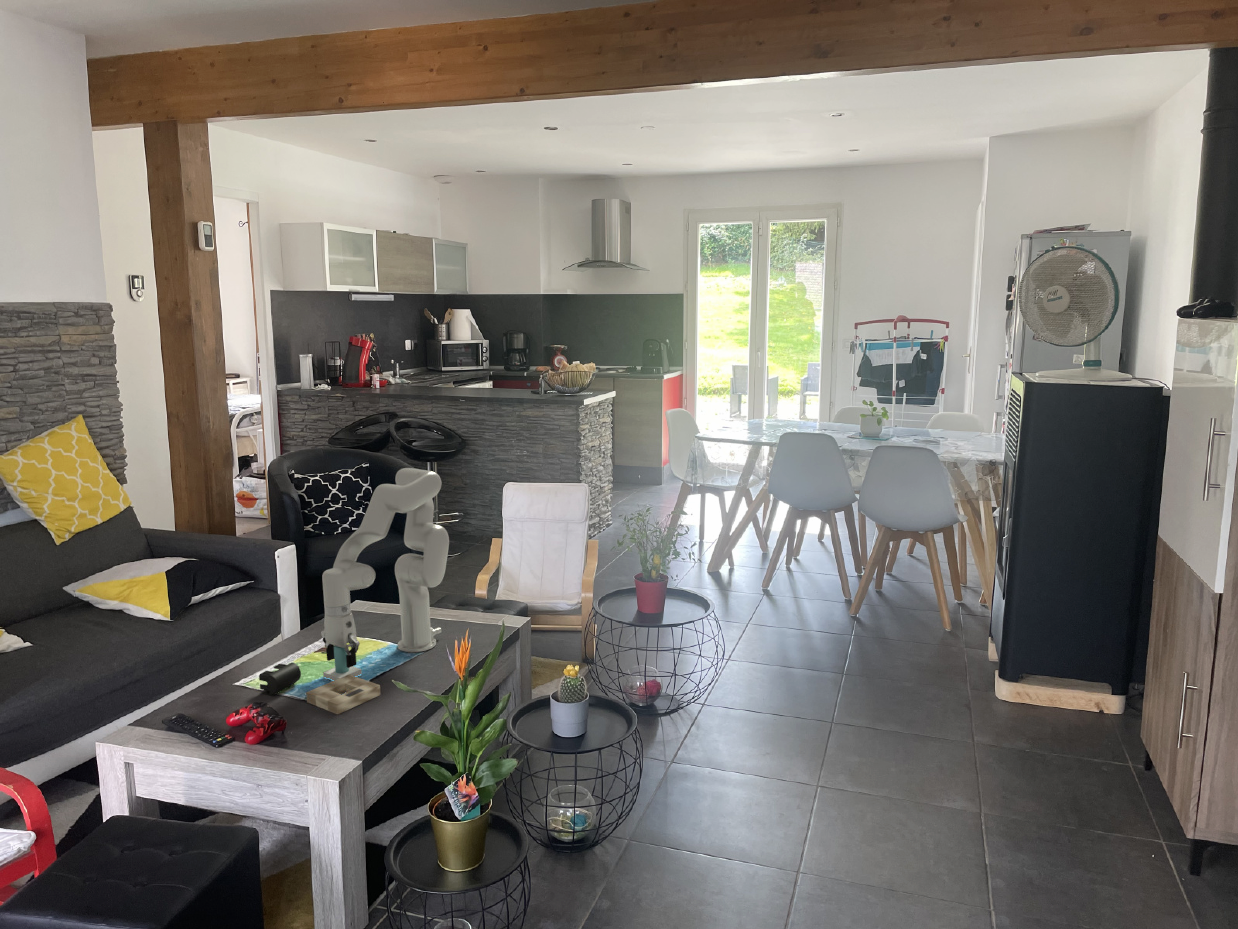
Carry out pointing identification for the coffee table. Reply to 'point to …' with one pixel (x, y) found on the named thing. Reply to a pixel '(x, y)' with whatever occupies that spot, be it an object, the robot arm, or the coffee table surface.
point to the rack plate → (338, 703)
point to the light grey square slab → (335, 676)
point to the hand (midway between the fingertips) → (341, 662)
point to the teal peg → (340, 660)
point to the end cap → (279, 678)
